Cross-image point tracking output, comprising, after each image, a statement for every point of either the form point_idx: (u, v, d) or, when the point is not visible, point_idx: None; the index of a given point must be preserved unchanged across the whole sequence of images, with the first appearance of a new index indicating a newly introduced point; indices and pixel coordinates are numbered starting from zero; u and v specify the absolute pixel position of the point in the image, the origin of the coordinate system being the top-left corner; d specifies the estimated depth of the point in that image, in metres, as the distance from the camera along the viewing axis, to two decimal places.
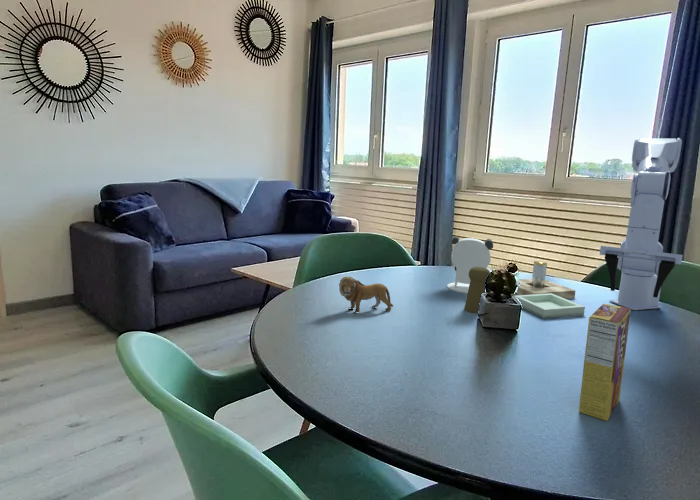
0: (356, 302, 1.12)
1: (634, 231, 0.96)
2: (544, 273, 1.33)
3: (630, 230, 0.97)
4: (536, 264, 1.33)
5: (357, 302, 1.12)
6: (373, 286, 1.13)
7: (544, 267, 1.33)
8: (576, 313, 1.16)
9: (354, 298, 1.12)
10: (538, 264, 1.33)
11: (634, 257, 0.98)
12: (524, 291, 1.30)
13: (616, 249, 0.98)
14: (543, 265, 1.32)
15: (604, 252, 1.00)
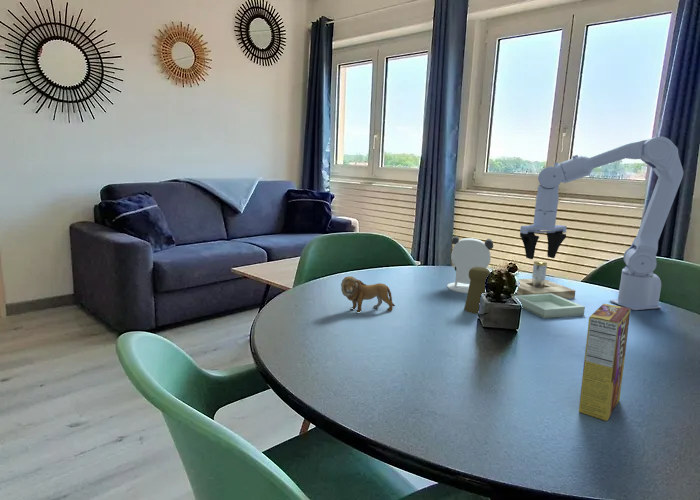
0: (358, 302, 1.12)
1: None
2: (544, 273, 1.33)
3: None
4: (536, 264, 1.33)
5: (359, 302, 1.12)
6: (375, 286, 1.13)
7: (544, 267, 1.33)
8: (576, 313, 1.16)
9: (356, 298, 1.12)
10: (538, 264, 1.33)
11: None
12: (524, 291, 1.30)
13: None
14: (543, 265, 1.32)
15: None
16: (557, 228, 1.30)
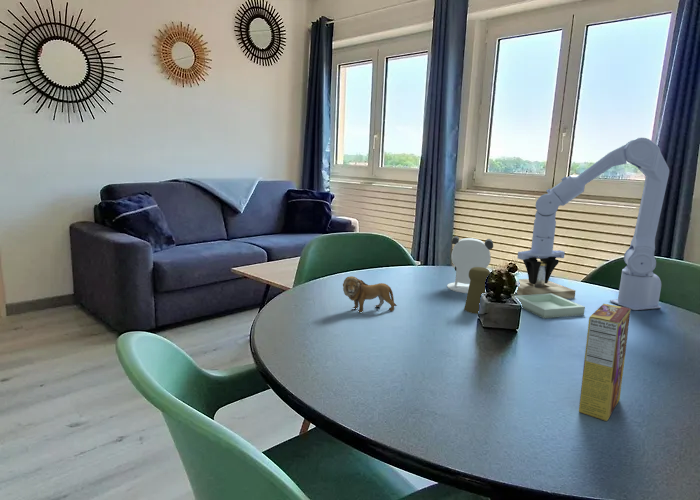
0: (360, 302, 1.12)
1: None
2: (544, 273, 1.33)
3: None
4: None
5: (361, 302, 1.12)
6: (377, 285, 1.14)
7: (544, 267, 1.33)
8: (576, 313, 1.16)
9: (358, 298, 1.12)
10: None
11: None
12: (524, 291, 1.30)
13: None
14: (543, 265, 1.32)
15: None
16: (554, 254, 1.32)
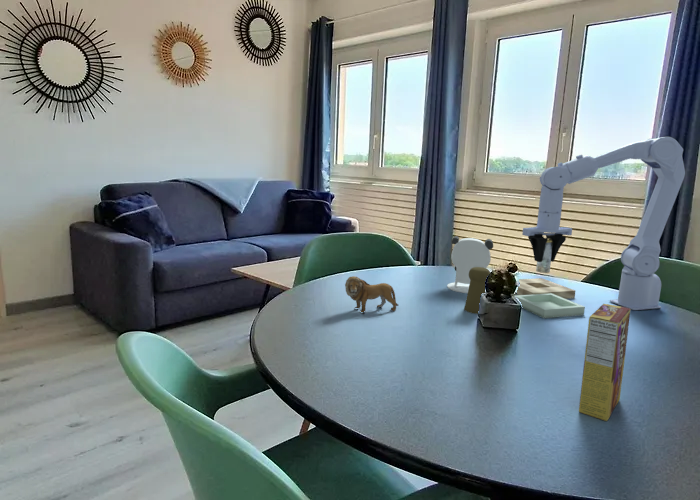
0: (362, 302, 1.12)
1: None
2: (550, 250, 1.27)
3: None
4: None
5: (363, 302, 1.12)
6: (379, 285, 1.14)
7: (550, 244, 1.26)
8: (576, 313, 1.16)
9: (360, 298, 1.12)
10: None
11: None
12: (524, 291, 1.30)
13: None
14: (549, 242, 1.26)
15: None
16: (561, 230, 1.26)
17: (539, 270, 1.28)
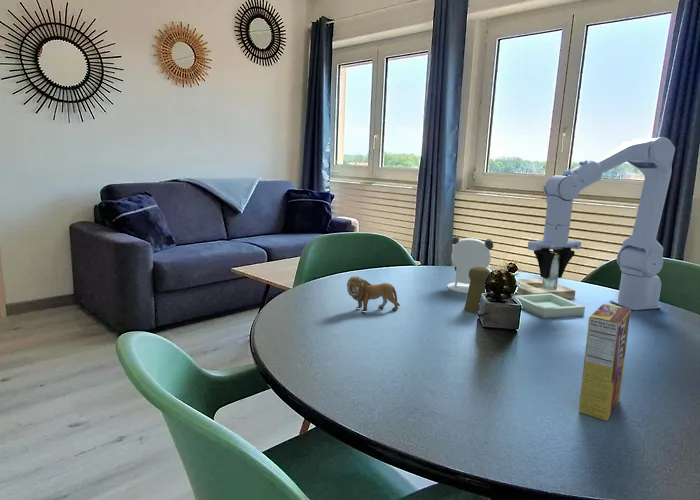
0: (364, 302, 1.12)
1: None
2: (557, 266, 1.17)
3: None
4: None
5: (364, 302, 1.12)
6: (380, 285, 1.14)
7: (557, 259, 1.16)
8: (576, 313, 1.16)
9: (362, 298, 1.12)
10: None
11: None
12: (524, 291, 1.30)
13: None
14: (556, 257, 1.16)
15: None
16: (570, 244, 1.16)
17: (545, 287, 1.18)
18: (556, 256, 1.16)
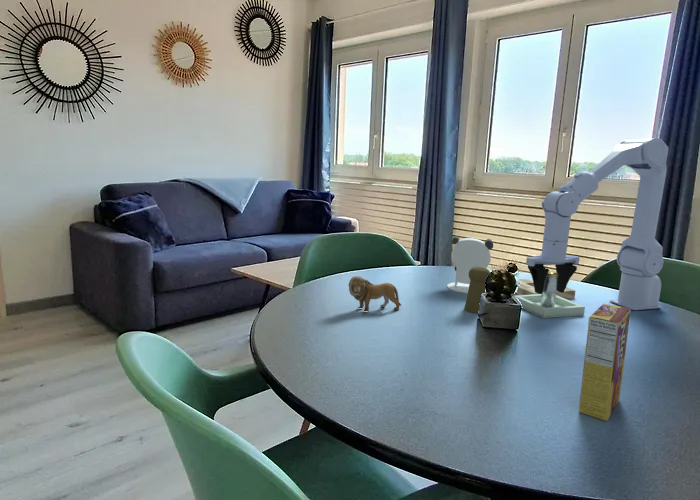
0: (365, 302, 1.12)
1: None
2: (555, 285, 1.18)
3: None
4: None
5: (366, 302, 1.12)
6: (382, 285, 1.14)
7: (555, 278, 1.17)
8: (576, 313, 1.16)
9: (363, 298, 1.12)
10: (548, 275, 1.17)
11: None
12: (524, 291, 1.30)
13: None
14: (554, 276, 1.17)
15: None
16: (568, 260, 1.16)
17: (543, 305, 1.19)
18: (554, 275, 1.17)
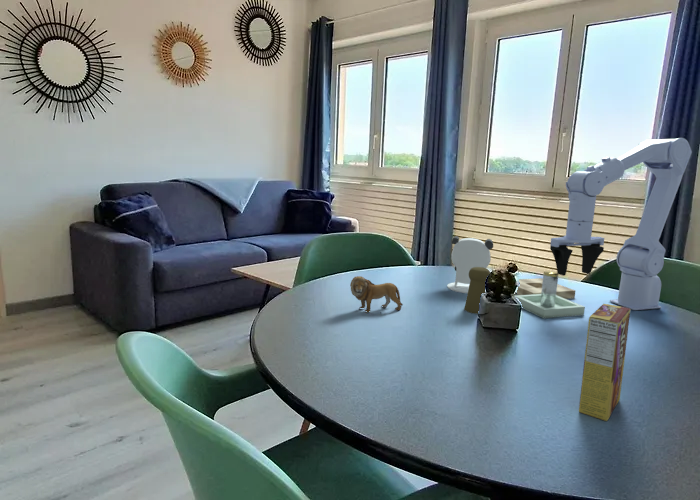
0: (367, 301, 1.13)
1: None
2: (555, 285, 1.18)
3: None
4: (546, 275, 1.18)
5: (368, 302, 1.13)
6: (384, 285, 1.14)
7: (555, 278, 1.17)
8: (576, 313, 1.16)
9: (365, 297, 1.12)
10: (548, 275, 1.17)
11: None
12: (524, 291, 1.30)
13: None
14: (554, 276, 1.17)
15: None
16: (593, 240, 1.15)
17: (543, 305, 1.19)
18: (554, 275, 1.17)
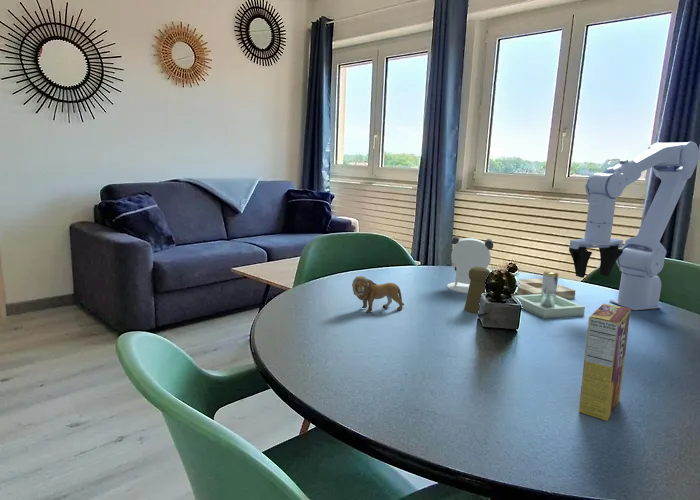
0: (369, 301, 1.13)
1: None
2: (555, 285, 1.18)
3: None
4: (546, 275, 1.18)
5: (370, 302, 1.13)
6: (385, 285, 1.14)
7: (555, 278, 1.17)
8: (576, 313, 1.16)
9: (367, 297, 1.12)
10: (548, 275, 1.17)
11: None
12: (524, 291, 1.30)
13: None
14: (554, 276, 1.17)
15: None
16: (612, 243, 1.14)
17: (543, 305, 1.19)
18: (554, 275, 1.17)
